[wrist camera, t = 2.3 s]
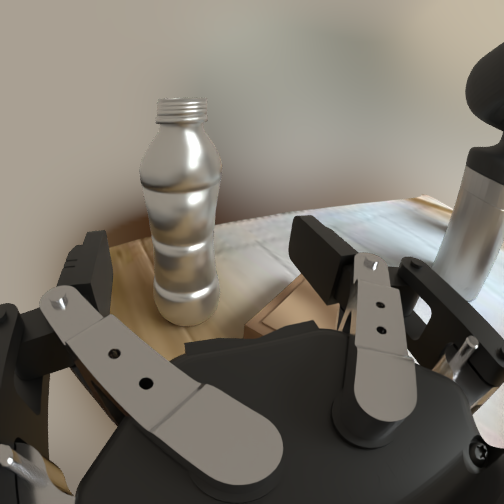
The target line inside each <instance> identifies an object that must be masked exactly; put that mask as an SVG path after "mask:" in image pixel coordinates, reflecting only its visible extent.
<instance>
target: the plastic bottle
mask: <svg viewBox="0 0 504 504" xmlns="http://www.w3.org/2000/svg"><path fill="white" fill-rule="evenodd" d="M157 104H158V105H157V117H156V124H160V128H159V132H158V133H157V135H156V136H155V138H154V139H153V141H152V142H151V143H150V145H149V147H148V149H147V150H146V152H145V154H144V156H143V158H142V161H141V165H140V170H139V172H140V180H141V184H142V189H143V194H144V198H145V203H146V207H147V211H148V215H149V222H150V228H151V233H152V241H153V249H154V273H155V275H154V285H153V289H154V300H155V303H156V306H157V308H158V310H159V312H160V314H161V315H162V316H163V317H164V318H165V319H166V320H168V321H170V322H171V323H173V324H175V325H179V326H195V325H198V324H201V323H203V322H204V321H206V320H207V319H208V318H209V317H210V316H211V315H213V314H214V312H215V311H216V309H217V306H218V303H219V298H220V285H219V279H218V275H217V271H216V264H215V253H214V242H213V241H214V226H215V211H216V204H217V198H218V193H219V187H220V182H221V181H220V180H221V176H222V167H223V166H222V162H221V158H220V155H219V153H218V151H217V149H216V148H215V146H214V144H213V142H212V141H211V139H210V138H209V137H208V135H207V134H206V132H205V131H204V127H203V123H204V122H207V121H208V116H207V98H167V99H159V100H158V103H157Z"/></svg>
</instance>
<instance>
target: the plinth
mask: <svg viewBox="0 0 504 504" xmlns="http://www.w3.org/2000/svg"><path fill="white" fill-rule="evenodd" d="M339 305H340V304H339V303H337V304H333V305H328V306H327V305H326V304H325V303H324V301H323V300H322V299H321V298H320V296H319V295H318V294H317V292H316V291H315V290H314V289H313V287H312V286H311V285H310V284H309V282H308V281H307V280H306V279H305V277H304V276H303V275H302V274H300V275H299V276H298V277H297V278H296V279H295V280H294V281H293V282H292V283H290V284H289V285H288V286H287V287H286V288H285V289H284V290H283V291H282V292H281V293H280V294H278V295H277V296H276V297H275V298H274V299H273V300H272V301H271V302H270V303H268V304H267V305H266V306H265V307H264V308H263V309H262V310H261V311H260V312H258V313H257V314H256V315H255V316H254V317H253V318H252V319H251V320H249V321H248V322H247V323H246V324H245V327H244V339H255V338H259V337H261V336H264V335H266V334H268V333H271V332H273V331H275V330H277V329H279V328H282V327H284V326H287V325H292V324H296V323H301V322H305V321H310V320H314V321H315V323H316V324H317V326H318V327H319V328H325V329H333V330H335V324H336V317H337V311H338V308H339Z"/></svg>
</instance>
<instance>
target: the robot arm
mask: <svg viewBox="0 0 504 504" xmlns="http://www.w3.org/2000/svg"><path fill="white" fill-rule="evenodd" d="M465 92H466V100H467V104H468V106H469V108H470V109H471V111H472V112H473V114H474V115H475V116H477V117H478V118H479V119H481V120H482V121H484V122H485V123H487V124H489V125H491V126H493V127H495V128H497V129H499V130H502V131H503V135H502V138H501V140H500V142H499V143H498V144H496V145H494V146H490V147H473V148H471V149H470V151H469V154H468V157H467V162H466V167H465V171H464V175H463V178H462V183H461V186H460V190H459V193H458V197H457V200H456V204H455V206H454V209H453V213H452V216H451V219H450V222H449V224H448V227H447V230H446V233H445V236H444V238H443V241H442V244H441V246H440V248H439V251H438V254H437V256H436V259H435V261H434V263H433V266H432V268H430V267H429V266H428V265H427V264H425V263H424V262H423V261H421V260H419V259H416V258H413V257H404V258H402V260H401V263H400V266H399V268H398V267H388V266H387V263H386V262H385V261H384V260H383V259H382V258H380V257H379V256H377V255H374V254H371V253H358V252H357V251H356V250H355V249H353V248H352V247H351V246H350V245H349V244H348V243H347V242H345V241H344V240H343V239H342V238H341V237H339V235H337V234H336V233H335V232H334V231H333V230H331V229H329V228H327V227H325V226H324V225H323V224H322V223H321V222H319V221H318V220H317V219H316V218H315V217H313V216H312V215H307V216H295V217H294V219H293V223H292V229H291V236H290V242H289V257H290V259H291V261H292V262H293V263H294V265H295V266H296V267H297V268H298V270H299V271H300V272H301V274H302V275H303V276H304V277H305V279H306V280H307V281H308V282H309V284H310V285H311V286H312V287H313V289H314V290H315V291H316V292H317V294H318V295H319V296H320V298H321V299H322V300H323V301H324V303H325V304H326V305H327V306H328V305H333V304H337V303H339V304H340V305H339V308H338V311H337V317H336V324H335V330H333V329H325V328H319V327H318V326H317V324H316V323H315V321H314V320H310V321H305V322H301V323H296V324H292V325H287V326H284V327H282V328H279V329H277V330H275V331H273V332H271V333H268V334H266V335H264V336H261V337H259V338H255V339H236V338H216V339H209V340H203V341H196V342H189V343H184V345H185V353H186V354H183V355H180V356H178V357H176V358H174V359H172V360H171V361H168V360H166V359H165V358H164V357H163V356H161V355H160V354H159V353H157V352H156V351H155V350H154V349H152V348H151V347H150V346H149V345H148V344H146V343H145V342H144V341H143V340H142V339H140V338H139V337H138V336H137V335H136V334H134V333H133V332H132V331H131V330H130V329H129V328H128V327H126V326H125V325H124V324H123V323H122V322H121V321H120V320H119V319H117V318H116V317H115V316H114V315H112V314H110V302H111V292H112V283H113V269H112V262H111V257H110V252H109V246H108V240H107V235H106V231H105V230H102V231H92V232H87V234H86V237H85V240H84V242H83V245H77V246H75V247H74V248H73V249H72V250H71V251H70V252H69V254H68V256H67V259H66V262H65V264H64V268H63V269H62V272H61V275H60V278H59V280H58V284H57V286H56V287H55V288H53V289H50V290H49V291H47V292H46V293H45V294H44V295H43V296H42V298H41V300H40V303H39V304H40V305H39V306H40V307H39V308H37V309H34V310H32V311H28V312H26V313H22V314H20V313H19V311H18V309H17V307H16V306H15V305H14V304H10V303H6V304H1V305H0V504H504V449H503V448H496V447H493V446H490V445H488V444H487V443H486V442H485V441H484V440H483V438H482V437H481V435H480V433H479V431H478V429H477V427H476V424H475V422H474V419H473V416H472V415H473V414H474V413H475V412H476V411H477V410H478V409H479V408H480V407H481V406H482V405H483V404H484V403H485V402H486V401H487V400H488V399H489V398H490V397H491V396H492V395H493V393H494V392H495V391H496V390H497V389H498V388H499V387H500V386H501V385H502V383H503V382H504V339H503V338H502V337H501V336H500V335H499V334H498V333H497V332H496V331H495V329H494V328H493V327H492V326H491V325H490V324H489V323H488V322H487V321H486V320H485V319H484V318H483V317H482V316H481V315H480V314H479V313H478V312H477V311H476V310H475V309H474V308H473V307H472V306H471V305H470V304H469V303H468V302H467V301H472V300H474V299H476V297H477V296H478V294H479V292H480V290H481V288H482V286H483V284H484V282H485V280H486V278H487V277H488V275H489V273H490V270H491V268H492V266H493V264H494V262H495V260H496V257H497V255H498V253H499V250H500V248H501V246H502V243H503V241H504V43H502V44H501V45H499V46H498V47H496V48H495V49H494V50H492V51H491V52H489V53H488V54H487V55H485V56H484V57H483V58H482V59H480V60H479V61H478V63H477V64H476V65H475V66H474V68H473V69H472V71H471V73H470V75H469V77H468V80H467V84H466V91H465ZM419 296H420V297H421V298H422V299H423V300H424V301H425V302H426V303H427V304H428V305H429V306H430V308H431V312H432V314H431V318H430V320H429V322H428V324H427V325H426V324H425V323H424V322H423V320H422V319H421V318H420V317H419V316H418V315H417V314H416V313H415V312H414V310H413V309H414V307H415V305H416V303H417V300H418V298H419ZM407 349H408V350H409V351H410V353H411V354H412V355H413V357H414V358H415V359H416V360H417V362H418V363H419V364H420V365H418V364H416V363H414V360H413V358H412V357H409V356H408V352H407ZM68 367H70V369H71V370H72V372H73V373H74V374H75V376H76V377H77V378H78V379H79V381H80V382H81V383H82V384H83V386H84V387H85V388H86V389H87V390H88V392H89V393H90V394H91V395H92V397H93V398H94V399H95V400H96V401H97V403H98V404H99V405H100V406H101V408H102V409H103V410H104V412H105V413H106V414H107V415H108V417H109V418H110V419H111V420H112V421H113V422H114V423H115V424H116V425H117V426H118V427H117V429H116V430H115V432H114V433H113V434H112V436H111V437H110V439H109V440H108V442H107V443H106V445H105V446H104V448H103V449H102V450H101V452H100V453H99V455H98V456H97V458H96V459H95V461H94V462H93V464H92V465H91V467H90V468H89V470H88V471H87V472H86V474H85V475H84V477H83V478H82V480H81V482H80V483H79V485H78V488H77V491H76V495H75V496H74V495H73V494H72V493H71V492H70V490H69V489H68V487H67V484H66V481H65V477H64V475H63V473H62V471H61V470H60V468H59V467H58V466H57V465H55V464H54V463H53V462H52V461H50V460H49V449H48V395H49V380H50V373H53V372H56V371H59V370H62V369H65V368H68Z"/></svg>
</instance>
